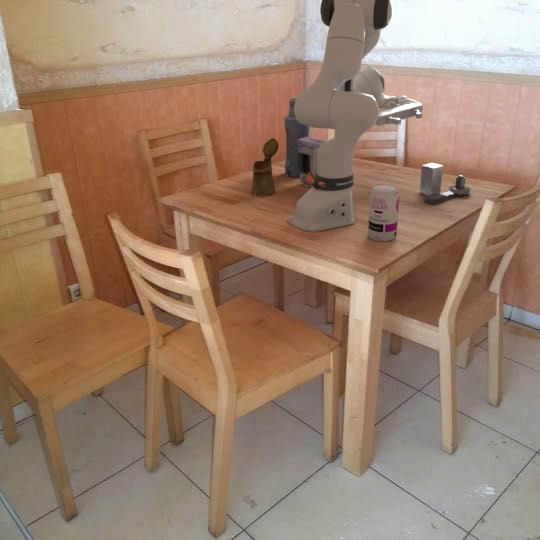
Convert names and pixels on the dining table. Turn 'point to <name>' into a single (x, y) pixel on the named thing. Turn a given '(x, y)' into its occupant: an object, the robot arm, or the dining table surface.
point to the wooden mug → (264, 171)
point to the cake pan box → (308, 158)
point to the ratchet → (450, 192)
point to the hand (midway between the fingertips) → (410, 119)
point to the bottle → (293, 140)
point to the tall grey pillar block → (431, 178)
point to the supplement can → (383, 212)
